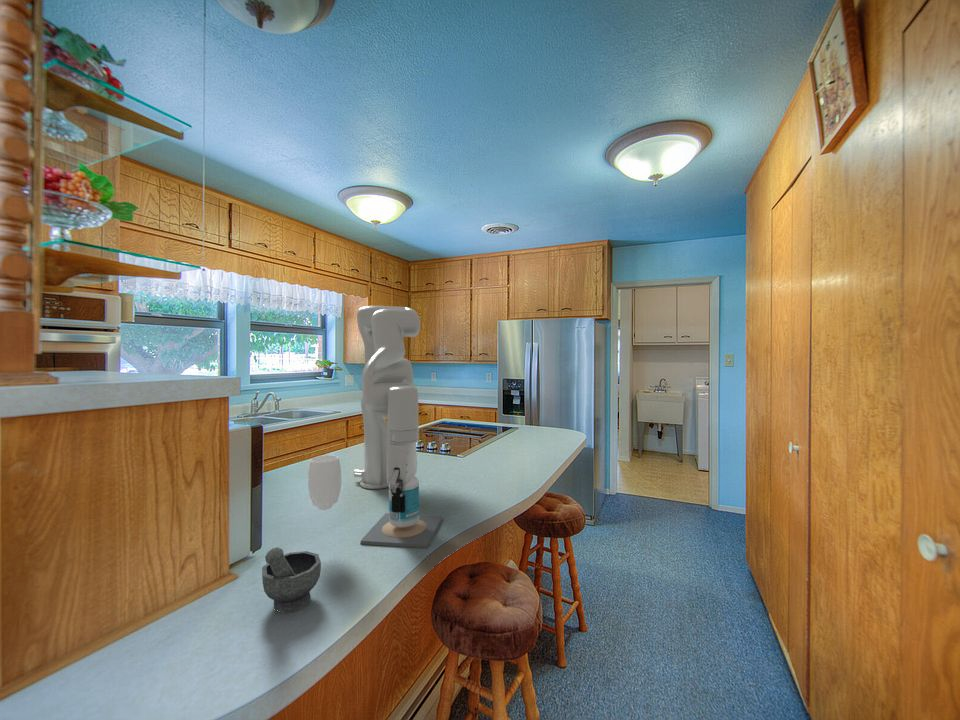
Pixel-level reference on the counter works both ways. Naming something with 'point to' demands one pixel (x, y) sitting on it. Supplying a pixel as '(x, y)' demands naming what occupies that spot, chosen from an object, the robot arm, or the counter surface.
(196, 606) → the counter surface
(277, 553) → the mortar and pestle
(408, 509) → the pill bottle
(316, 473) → the cup
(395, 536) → the rest mat
